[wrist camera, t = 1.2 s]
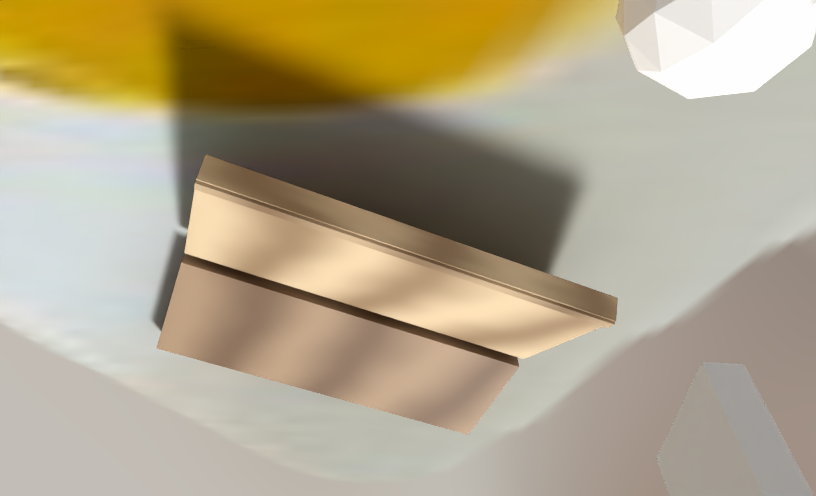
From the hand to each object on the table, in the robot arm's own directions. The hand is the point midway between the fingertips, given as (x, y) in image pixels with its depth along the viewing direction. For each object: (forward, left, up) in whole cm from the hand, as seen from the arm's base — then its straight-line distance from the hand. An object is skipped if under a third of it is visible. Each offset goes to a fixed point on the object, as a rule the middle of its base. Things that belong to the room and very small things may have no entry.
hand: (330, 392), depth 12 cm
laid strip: (+5, -19, -21) cm, 29 cm away
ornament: (+11, +7, -21) cm, 25 cm away
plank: (+5, -11, -19) cm, 22 cm away
